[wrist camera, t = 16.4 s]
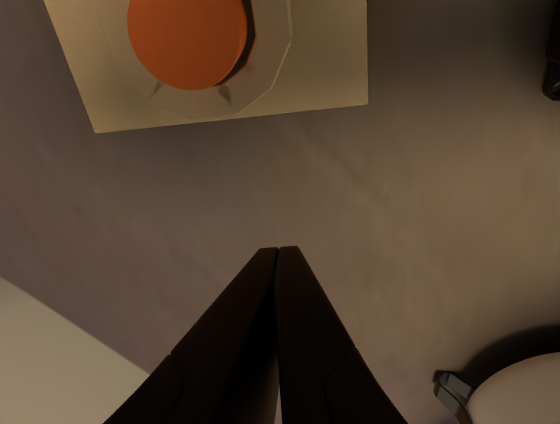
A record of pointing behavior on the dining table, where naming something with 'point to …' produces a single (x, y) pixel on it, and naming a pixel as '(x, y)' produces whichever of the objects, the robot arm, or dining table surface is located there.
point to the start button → (188, 39)
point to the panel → (241, 79)
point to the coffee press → (508, 394)
